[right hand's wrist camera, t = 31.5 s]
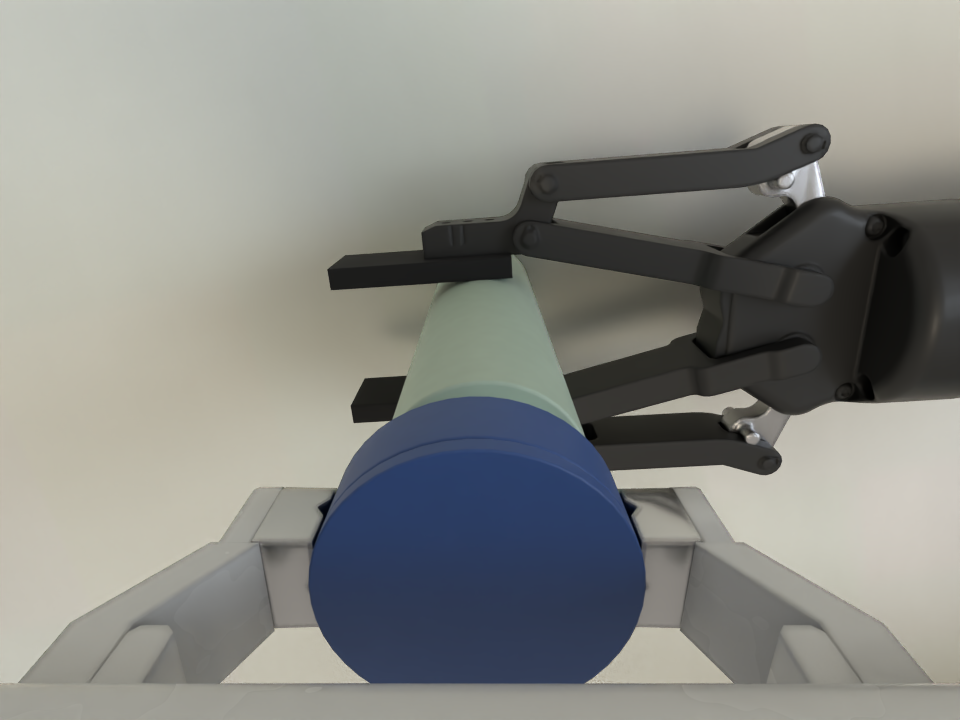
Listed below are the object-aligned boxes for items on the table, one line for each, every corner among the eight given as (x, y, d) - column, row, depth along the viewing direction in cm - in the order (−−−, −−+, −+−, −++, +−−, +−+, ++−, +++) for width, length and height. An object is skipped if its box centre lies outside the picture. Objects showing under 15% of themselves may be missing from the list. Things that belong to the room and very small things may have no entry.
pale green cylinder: (542, 260, 27) (648, 458, 10) (512, 343, 29) (557, 642, 11) (453, 231, 27) (399, 386, 9) (427, 317, 28) (340, 588, 11)
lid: (357, 633, 11) (334, 720, 10) (315, 402, 9) (278, 459, 8) (614, 622, 11) (638, 708, 9) (624, 387, 9) (657, 440, 8)
